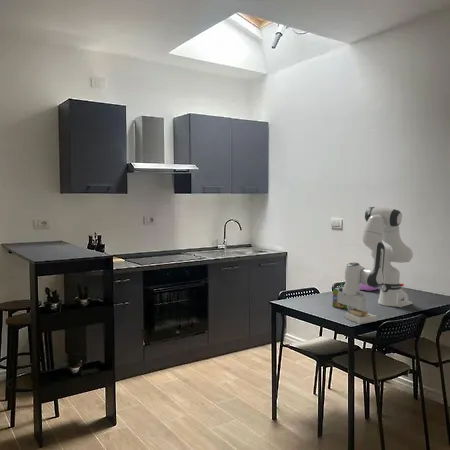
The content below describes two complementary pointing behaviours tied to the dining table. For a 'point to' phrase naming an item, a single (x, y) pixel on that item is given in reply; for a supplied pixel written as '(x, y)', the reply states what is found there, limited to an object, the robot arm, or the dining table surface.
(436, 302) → the dining table surface
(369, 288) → the teapot
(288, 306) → the dining table surface
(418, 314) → the dining table surface
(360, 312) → the cart block
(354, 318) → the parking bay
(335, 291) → the chalk box
